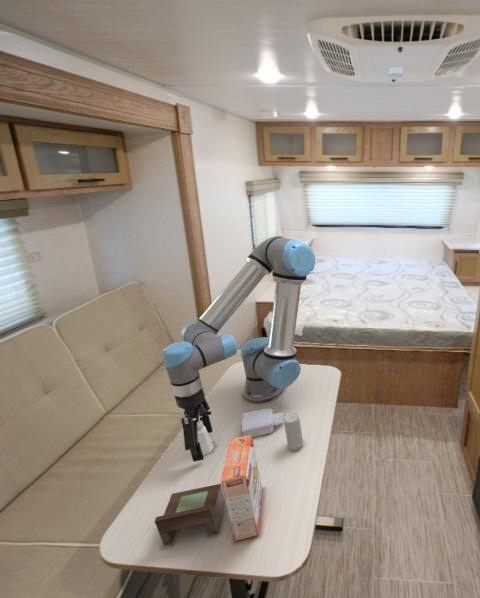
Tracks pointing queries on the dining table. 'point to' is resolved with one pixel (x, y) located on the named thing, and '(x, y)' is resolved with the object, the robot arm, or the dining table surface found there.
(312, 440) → the dining table surface
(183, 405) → the robot arm
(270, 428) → the charger
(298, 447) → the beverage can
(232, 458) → the cracker box
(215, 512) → the shelf
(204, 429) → the salt shaker
